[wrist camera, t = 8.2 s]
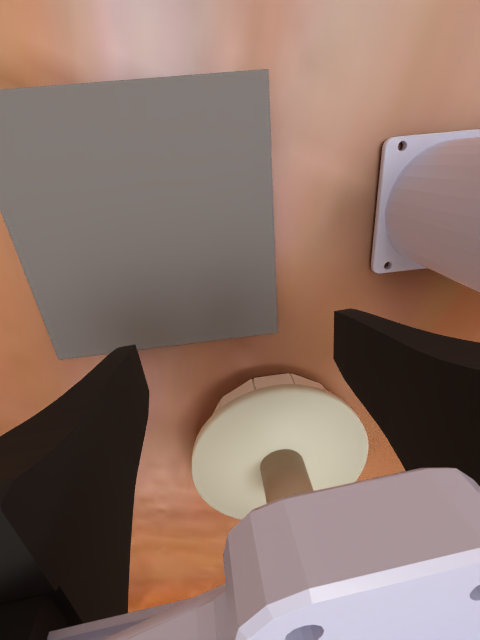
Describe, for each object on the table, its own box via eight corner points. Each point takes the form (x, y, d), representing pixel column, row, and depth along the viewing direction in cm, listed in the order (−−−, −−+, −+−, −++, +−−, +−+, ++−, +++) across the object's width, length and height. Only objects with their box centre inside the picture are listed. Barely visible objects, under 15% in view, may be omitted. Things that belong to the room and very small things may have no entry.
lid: (319, 351, 21) (351, 402, 17) (385, 464, 27) (422, 526, 22) (155, 442, 23) (144, 510, 19) (248, 530, 29) (257, 599, 24)
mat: (266, 71, 17) (268, 68, 16) (276, 328, 24) (277, 332, 23) (-37, 95, 16) (-46, 93, 15) (62, 355, 23) (58, 359, 22)
